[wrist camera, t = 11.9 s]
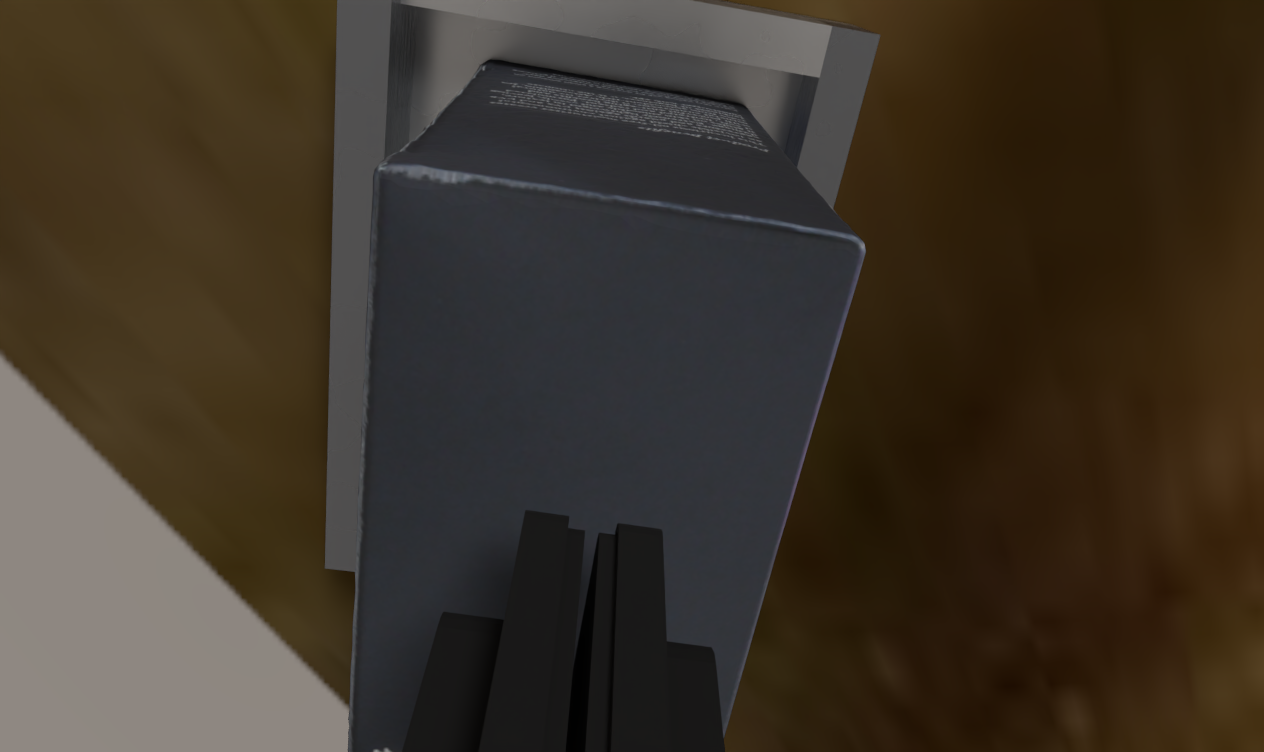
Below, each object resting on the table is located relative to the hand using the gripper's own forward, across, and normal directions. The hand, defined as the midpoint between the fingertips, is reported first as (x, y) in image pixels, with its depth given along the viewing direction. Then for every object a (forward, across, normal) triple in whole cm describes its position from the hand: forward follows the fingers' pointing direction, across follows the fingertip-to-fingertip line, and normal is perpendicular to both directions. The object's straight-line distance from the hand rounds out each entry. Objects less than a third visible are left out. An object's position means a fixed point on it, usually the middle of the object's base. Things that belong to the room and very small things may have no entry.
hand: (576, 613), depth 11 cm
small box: (+12, 0, +1) cm, 12 cm away
